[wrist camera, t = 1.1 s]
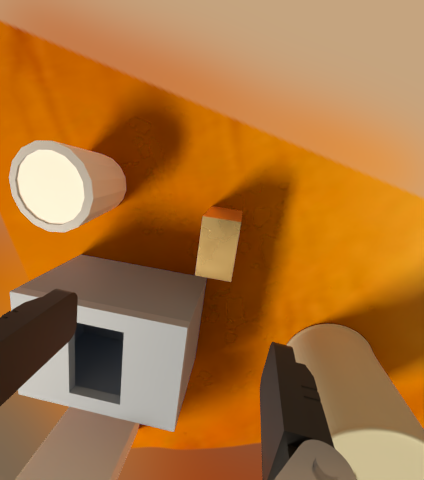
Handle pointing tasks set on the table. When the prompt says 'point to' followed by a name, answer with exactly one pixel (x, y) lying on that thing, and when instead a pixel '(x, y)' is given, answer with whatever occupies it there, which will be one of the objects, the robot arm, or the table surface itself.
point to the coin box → (121, 340)
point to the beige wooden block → (218, 243)
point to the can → (361, 404)
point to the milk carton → (82, 448)
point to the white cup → (64, 184)
